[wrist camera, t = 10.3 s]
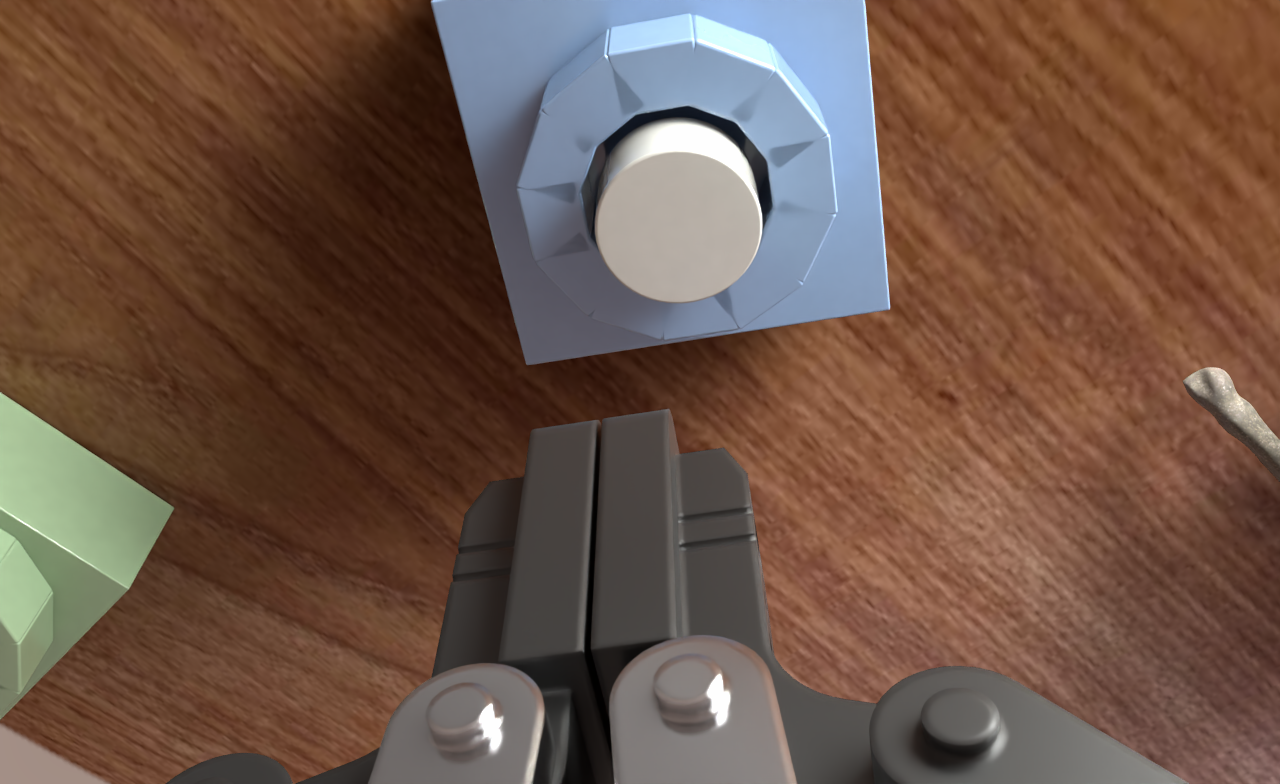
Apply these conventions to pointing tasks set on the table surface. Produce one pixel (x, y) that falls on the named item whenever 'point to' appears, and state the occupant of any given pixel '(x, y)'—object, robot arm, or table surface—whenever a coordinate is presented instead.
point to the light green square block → (61, 544)
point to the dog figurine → (1235, 414)
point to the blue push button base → (655, 89)
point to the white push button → (677, 211)
